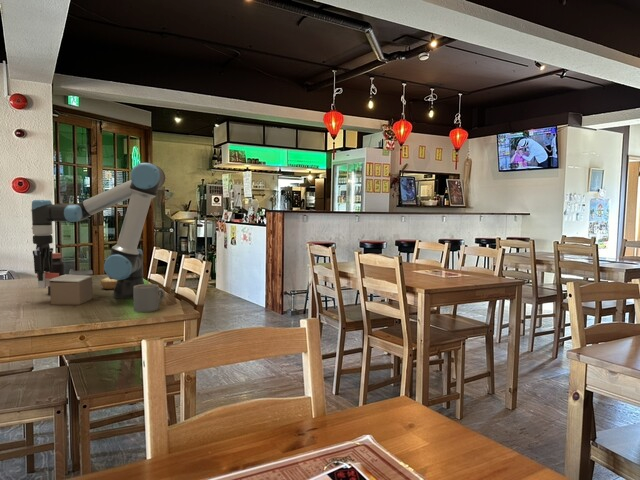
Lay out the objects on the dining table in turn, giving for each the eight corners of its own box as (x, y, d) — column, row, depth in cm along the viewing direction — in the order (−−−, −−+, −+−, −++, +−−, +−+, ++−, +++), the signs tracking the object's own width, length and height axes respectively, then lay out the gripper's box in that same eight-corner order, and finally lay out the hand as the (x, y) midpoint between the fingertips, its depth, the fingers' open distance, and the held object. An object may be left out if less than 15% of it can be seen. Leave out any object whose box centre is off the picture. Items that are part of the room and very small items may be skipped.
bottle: (64, 292, 224) (63, 252, 223) (64, 295, 218) (63, 253, 217) (48, 293, 220) (47, 253, 219) (48, 296, 215) (47, 254, 213)
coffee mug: (138, 313, 184) (138, 289, 183) (130, 308, 191) (130, 285, 191) (170, 308, 192) (170, 285, 192) (161, 304, 200) (161, 282, 199)
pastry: (99, 291, 231) (98, 274, 230) (103, 287, 242) (102, 270, 242) (124, 289, 234) (123, 273, 233) (127, 285, 246) (126, 269, 245)
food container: (63, 289, 231) (63, 270, 230) (71, 287, 237) (71, 269, 236) (85, 291, 229) (84, 271, 228) (93, 289, 235) (92, 270, 234)
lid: (92, 277, 210) (92, 272, 210) (79, 282, 196) (79, 277, 196) (46, 274, 208) (46, 270, 208) (30, 279, 194) (30, 275, 193)
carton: (92, 298, 211) (92, 277, 210) (79, 305, 197) (79, 282, 196) (65, 298, 209) (64, 277, 209) (50, 305, 195) (50, 282, 195)
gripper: (43, 233, 207) (44, 283, 209) (23, 235, 191) (25, 290, 193) (60, 233, 208) (61, 283, 210) (42, 236, 192) (43, 290, 193)
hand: (44, 286), depth 201 cm, fingers closed on lid, 3 cm apart
